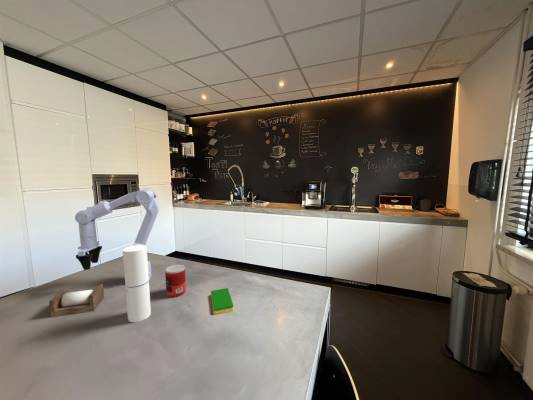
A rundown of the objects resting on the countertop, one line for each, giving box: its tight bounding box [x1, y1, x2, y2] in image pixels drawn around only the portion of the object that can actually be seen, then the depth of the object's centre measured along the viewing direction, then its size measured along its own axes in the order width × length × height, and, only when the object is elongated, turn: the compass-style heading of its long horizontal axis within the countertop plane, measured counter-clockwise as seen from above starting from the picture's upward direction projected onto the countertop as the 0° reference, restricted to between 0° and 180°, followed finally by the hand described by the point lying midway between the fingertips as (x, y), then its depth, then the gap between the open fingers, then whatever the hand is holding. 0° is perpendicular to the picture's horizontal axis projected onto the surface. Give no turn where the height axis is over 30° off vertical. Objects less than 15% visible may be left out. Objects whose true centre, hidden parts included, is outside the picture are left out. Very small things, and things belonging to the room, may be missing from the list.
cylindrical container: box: [122, 245, 152, 323], centre depth 78 cm, size 7×7×25 cm
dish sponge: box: [210, 287, 234, 315], centre depth 87 cm, size 7×14×2 cm, turn 18°
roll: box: [61, 289, 94, 307], centre depth 84 cm, size 8×5×5 cm, turn 107°
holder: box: [48, 283, 105, 318], centre depth 84 cm, size 13×9×6 cm
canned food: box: [164, 264, 187, 298], centre depth 94 cm, size 8×8×11 cm
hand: (91, 265), depth 99 cm, fingers open, 7 cm apart
